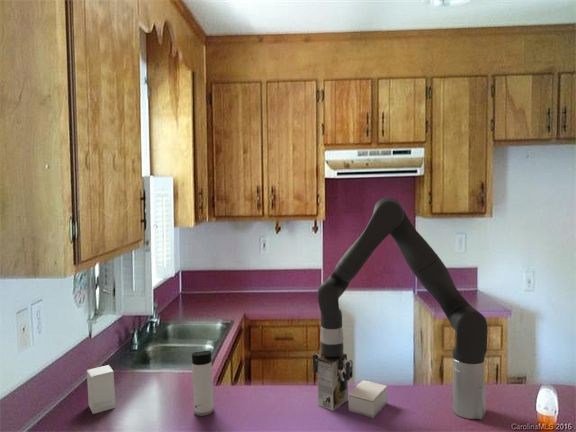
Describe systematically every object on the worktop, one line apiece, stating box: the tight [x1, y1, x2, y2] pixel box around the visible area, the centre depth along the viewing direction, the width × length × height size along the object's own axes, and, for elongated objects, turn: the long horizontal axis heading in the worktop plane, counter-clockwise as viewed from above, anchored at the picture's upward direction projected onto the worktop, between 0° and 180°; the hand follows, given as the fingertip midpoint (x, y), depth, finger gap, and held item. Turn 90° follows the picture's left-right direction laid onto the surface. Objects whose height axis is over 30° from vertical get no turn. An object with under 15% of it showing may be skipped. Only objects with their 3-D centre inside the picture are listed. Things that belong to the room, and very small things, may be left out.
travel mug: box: [191, 350, 214, 417], centre depth 143 cm, size 6×7×20 cm
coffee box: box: [317, 352, 349, 412], centre depth 147 cm, size 9×6×16 cm
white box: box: [348, 388, 388, 419], centre depth 144 cm, size 8×11×5 cm
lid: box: [348, 379, 388, 401], centre depth 143 cm, size 8×11×1 cm
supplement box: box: [86, 364, 116, 415], centre depth 149 cm, size 7×7×13 cm
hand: (332, 387), depth 147 cm, fingers open, 7 cm apart
